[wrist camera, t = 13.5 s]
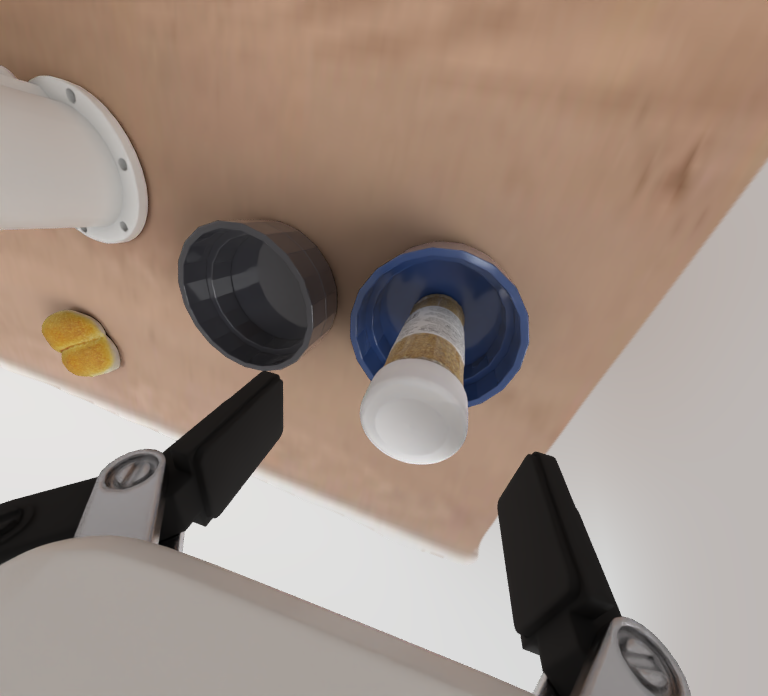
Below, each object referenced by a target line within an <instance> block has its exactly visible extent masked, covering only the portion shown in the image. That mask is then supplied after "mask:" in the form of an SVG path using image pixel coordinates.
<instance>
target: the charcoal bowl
mask: <svg viewBox="0 0 768 696" xmlns="http://www.w3.org/2000/svg"><path fill="white" fill-rule="evenodd" d="M178 283H179V287H180V291H181V294H182V298H183V302H184V305H185V307H186V309H187V311H188V313H189V315H190V317H191V318H192V320H193V322H194V324H195V325H196V327H197V328H198V330H199V331H200V332H201V333H202V335H203V336H204V337H205V338H206V339H207V341H208V342H209V343H210V344H211V345H212V346H213V347H215V348H216V349H217V350H218V351H219V352H221V353H222V354H223V355H224V356H225V357H227V358H229V359H231V360H232V361H234V362H236V363H238V364H240V365H242V366H244V367H247V368H252V369H256V370H261V371H271V370H281V369H283V368H285V367H287V366H289V365H291V364H293V363H295V362H297V361H298V360H299V359H300V358H301V357H302V356H303V355H305V354H306V353H307V352H308V351H309V350H310V349H311V348H313V347H314V346H315V345H316V344H317V343H318V342H319V341H320V340H322V338H323V337H324V336H325V335H326V333H327V332H328V331H329V330H330V329H331V327H332V324H333V321H334V318H335V315H336V312H337V289H336V285H335V282H334V278H333V275H332V272H331V269H330V267H329V265H328V263H327V262H326V260H325V259H324V257H323V255H322V254H321V252H320V251H319V249H318V247H317V246H316V245H315V244H313V243H312V242H311V241H310V240H309V239H308V238H307V237H306V236H305V235H304V234H303V233H302V232H300V231H299V230H297V229H295V228H293V227H290V226H288V225H286V224H284V223H282V222H279V221H271V220H261V219H259V220H218V221H215V222H212V223H209V224H206V225H203V226H200V227H198V228H197V229H196V230H195V231H194V232H193V233H192V234H191V236H190V237H189V238H188V239H187V240H186V241H185V242H184V245H183V248H182V251H181V254H180V257H179V260H178Z"/></svg>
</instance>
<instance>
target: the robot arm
mask: <svg viewBox="0 0 768 696" xmlns="http://www.w3.org/2000/svg"><path fill="white" fill-rule="evenodd" d="M147 213H148V195H147V186H146V182H145V178H144V174H143V170H142V167H141V165H140V162H139V159H138V157H137V154H136V152H135V150H134V148H133V146H132V144H131V142H130V140H129V138H128V137H127V135H126V133H125V132H124V130H123V129H122V127H121V126H120V124H119V123H118V121H117V120H116V119H115V118H114V116H113V115H112V114H111V113H110V111H109V110H108V109H107V108H106V107H105V106H104V105H103V104H102V103H101V102H100V101H99V100H98V99H97V98H96V97H95V96H94V95H92V94H91V93H89V92H88V91H86V90H85V89H84V88H82V87H81V86H78V85H76V84H74V83H71V82H69V81H66V80H63V79H60V78H56V77H53V76H37V77H35V78H33V79H31V80H29V81H28V82H25V81H22V80H19V79H17V78H16V77H15V75H14V74H13V73H12V72H11V71H9V70H8V69H7V68H5V67H3V66H1V65H0V230H19V229H49V228H76V229H77V230H79V231H80V232H82V233H83V234H85V235H86V236H88V237H90V238H92V239H94V240H96V241H99V242H103V243H123V242H129V241H131V240H132V239H134V238H136V237H137V236H138V235H139V234H140V232H141V231H142V229H143V227H144V225H145V222H146V218H147ZM282 432H283V381H282V380H281V379H280V377H279V375H277V374H274V373H271V372H267V371H262V372H261V373H260V374H258V375H257V376H256V377H255V378H254V379H252V380H251V381H250V382H249V383H248V384H246V385H245V386H244V387H243V388H242V389H240V390H239V391H238V392H237V393H235V394H234V395H233V396H232V397H231V398H229V399H228V400H226V401H225V402H224V403H222V404H221V405H220V406H219V407H217V408H216V409H215V410H214V411H213V412H211V413H210V414H209V415H208V416H207V417H205V418H204V419H203V420H202V421H201V422H199V423H198V424H197V425H196V426H194V427H193V428H192V429H191V430H190V431H188V432H187V433H186V434H185V435H184V436H182V437H181V438H180V439H179V440H178V441H176V442H175V443H174V444H173V445H171V446H170V447H169V448H168V449H167V450H166V451H164V452H163V453H162V452H159V451H157V450H152V449H144V450H137V451H134V452H130V453H127V454H125V455H123V456H121V457H119V458H117V459H115V460H114V461H113V462H111V463H109V464H108V465H107V466H106V467H105V468H104V469H103V470H102V471H101V473H100V475H99V476H98V477H96V478H92V479H89V480H85V481H81V482H78V483H74V484H70V485H66V486H63V487H59V488H56V489H52V490H48V491H44V492H40V493H37V494H33V495H30V496H26V497H22V498H18V499H15V500H11V501H8V502H5V503H2V504H0V696H691V694H690V690H689V687H688V684H687V681H686V679H685V676H684V674H683V673H682V671H681V669H680V667H679V665H678V663H677V662H676V660H675V659H674V658H673V656H672V655H671V653H670V652H669V651H668V649H667V648H666V647H665V646H664V645H663V644H662V642H661V641H660V640H659V639H658V638H657V637H656V636H655V635H654V634H653V633H652V632H650V631H649V630H648V629H646V628H645V627H644V626H643V625H642V624H640V623H638V622H636V621H635V620H633V619H630V618H626V617H622V616H621V614H620V611H619V609H618V606H617V604H616V602H615V599H614V597H613V594H612V592H611V589H610V587H609V584H608V582H607V580H606V577H605V575H604V572H603V570H602V568H601V565H600V563H599V560H598V558H597V555H596V553H595V551H594V548H593V546H592V543H591V541H590V538H589V536H588V533H587V531H586V529H585V526H584V524H583V521H582V519H581V517H580V514H579V512H578V510H577V509H576V507H575V505H574V503H573V500H572V498H571V495H570V493H569V490H568V488H567V485H566V483H565V480H564V478H563V475H562V473H561V471H560V468H559V466H558V463H557V461H556V459H555V458H554V457H552V456H549V455H546V454H542V453H539V452H534V453H533V454H532V455H531V454H528V455H527V456H526V457H525V459H524V460H523V462H522V464H521V465H520V467H519V468H518V470H517V472H516V473H515V475H514V476H513V478H512V479H511V481H510V483H509V484H508V486H507V487H506V489H505V490H504V492H503V494H502V495H501V497H500V498H499V501H498V516H499V523H500V530H501V537H502V544H503V551H504V558H505V565H506V572H507V579H508V586H509V592H510V600H511V606H512V614H513V620H514V626H515V629H516V631H517V633H519V634H521V641H522V647H523V649H525V650H527V651H530V652H533V653H535V654H538V655H540V659H541V664H542V669H543V674H542V676H541V678H540V680H539V682H538V684H537V686H536V688H535V690H534V692H533V694H532V693H529V692H527V691H525V690H522V689H520V688H518V687H515V686H513V685H511V684H509V683H506V682H504V681H501V680H499V679H497V678H495V677H492V676H490V675H488V674H485V673H483V672H480V671H478V670H475V669H473V668H471V667H468V666H465V665H463V664H461V663H458V662H456V661H453V660H451V659H448V658H446V657H443V656H441V655H439V654H436V653H434V652H431V651H429V650H426V649H424V648H422V647H419V646H417V645H414V644H412V643H409V642H407V641H404V640H402V639H399V638H397V637H394V636H392V635H390V634H387V633H385V632H382V631H379V630H377V629H375V628H372V627H370V626H367V625H365V624H362V623H360V622H357V621H355V620H352V619H350V618H347V617H345V616H342V615H340V614H337V613H335V612H332V611H330V610H327V609H325V608H322V607H320V606H318V605H315V604H312V603H310V602H308V601H305V600H302V599H300V598H297V597H295V596H293V595H290V594H288V593H285V592H282V591H280V590H277V589H275V588H272V587H270V586H267V585H265V584H262V583H260V582H257V581H254V580H252V579H250V578H247V577H245V576H242V575H240V574H237V573H234V572H232V571H229V570H227V569H224V568H221V567H219V566H217V565H214V564H211V563H209V562H206V561H203V560H200V559H198V558H195V557H193V556H190V555H187V554H184V553H182V551H183V540H184V531H186V529H187V528H188V527H189V526H190V524H191V523H192V522H195V523H198V524H200V525H203V526H207V524H208V523H209V522H210V520H211V519H212V518H217V517H218V516H219V515H220V514H221V513H222V512H223V510H224V509H225V508H226V507H227V505H228V504H229V503H230V502H231V500H232V499H233V498H234V496H235V495H236V494H237V493H238V491H239V490H240V489H241V487H242V486H243V485H244V483H245V482H246V481H247V480H248V478H249V477H250V476H251V474H252V473H253V472H254V471H255V469H256V468H257V467H258V465H259V464H260V463H261V462H262V460H263V459H264V458H265V456H266V455H267V454H268V452H269V451H270V450H271V449H272V447H273V446H274V445H275V443H276V442H277V441H278V440H279V438H280V437H281V435H282Z"/></svg>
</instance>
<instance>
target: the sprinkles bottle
mask: <svg viewBox="0 0 768 696" xmlns="http://www.w3.org/2000/svg"><path fill="white" fill-rule="evenodd" d="M464 319H465V318H464V314H463V310H462V308H461V306H460V305H459V304H458V303H457V301H455V300H454V299H453V298H451V297H449V296H447V295H444V294H431V295H428V296H425V297H423V298H421V299H420V300H419V301H418V302H417V303H416V304H415V305H414V306H413V308H412V311H411V313H410V316H409V317H408V319H407V320H406V322H405V324H404V326H403V328H402V330H401V332H400V333H399V335H398V337H397V339H396V341H395V343H394V345H393V347H392V349H391V351H390V353H389V356H388V358H387V360H386V363H385V365H384V366H383V368H381V369H380V370H379V371H378V372H377V373H376V375H375V376H374V378H373V379H372V381H371V383H370V385H369V387H368V389H367V391H366V393H365V395H364V397H363V400H362V402H361V407H360V420H361V424H362V427H363V430H364V432H365V434H366V435H367V437H368V438H369V440H370V441H371V442H372V443H373V444H374V445H375V446H376V447H377V448H378V449H379V450H380V451H382V452H383V453H385V454H386V455H388V456H390V457H392V458H394V459H397V460H399V461H402V462H406V463H410V464H433V463H438V462H440V461H443V460H445V459H447V458H449V457H451V456H452V455H453V454H455V453H456V452H457V451H458V450H459V449H460V448H461V446H462V445H463V443H464V441H465V438H466V435H467V430H468V401H467V395H466V392H465V390H464V387H463V374H464V364H465V357H464V355H465V346H464V329H463V328H464V323H465V321H464Z"/></svg>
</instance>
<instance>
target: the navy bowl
mask: <svg viewBox="0 0 768 696" xmlns="http://www.w3.org/2000/svg"><path fill="white" fill-rule="evenodd" d="M431 294H444V295H447V296H449V297H451V298H453V299H454V300H455V301H457V303H458V304H459V305H460V306H461V308H462V310H463V314H464V318H465V319H464V321H465V323H464V328H463V329H464V346H465V355H464V357H465V364H464V374H463V387H464V390H465V392H466V395H467V401H468V407H471V406H474V405H478V404H481V403H483V402H484V401H486V400H487V399H489V398H491V397H492V396H494V395H495V394H497V393H498V392H500V391H502V390H503V389H504V388H505V387H506V385H507V384H508V383H509V382H510V381H511V379H512V378H513V377H514V376H515V374H516V373H517V372H518V371H519V370H520V368H521V365H522V362H523V359H524V357H525V354H526V351H527V348H528V345H529V318H528V313H527V311H526V308H525V306H524V304H523V301H522V299H521V297H520V294H519V292H518V290H517V288H516V286H515V285H514V284H513V282H512V281H511V279H510V278H509V277H508V275H507V274H506V273H505V272H504V271H503V270H502V269H501V268H500V267H499V265H498V264H497V263H496V262H495V261H494V260H493V259H492V258H491V257H490V256H489V255H487V254H485V253H483V252H481V251H479V250H477V249H475V248H473V247H470V246H468V245H466V244H463V243H455V242H445V241H435V242H430V243H426V244H422V245H417V246H413V247H411V248H410V249H408V250H406V251H405V252H403V253H401V254H400V255H398V256H397V257H395V258H393V259H392V260H390V261H389V262H387V263H385V264H384V265H382V266H381V267H379V268H377V269H376V270H375V271H374V273H373V274H372V275H371V276H370V278H369V279H368V280H367V281H366V282H365V284H364V285H363V286H362V287H361V289H360V290H359V292H358V295H357V298H356V301H355V303H354V306H353V309H352V312H351V324H350V339H351V342H352V345H353V349H354V352H355V355H356V359H357V361H358V363H359V364H360V366H361V367H362V369H363V370H364V372H365V373H366V375H367V376H368V378H369V379H370V380H371V381H372V379H373V378H374V376H375V375H376V373H377V372H378V371H379V370H380V369H381V368H383V366H384V365H385V363H386V360H387V358H388V356H389V353H390V351H391V349H392V347H393V345H394V343H395V341H396V339H397V337H398V335H399V333H400V332H401V330H402V328H403V326H404V324H405V322H406V320H407V319H408V317H409V316H410V313H411V311H412V308H413V306H414V305H415V304H416V303H417V302H418V301H419V300H420V299H421V298H423V297H425V296H428V295H431Z"/></svg>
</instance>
